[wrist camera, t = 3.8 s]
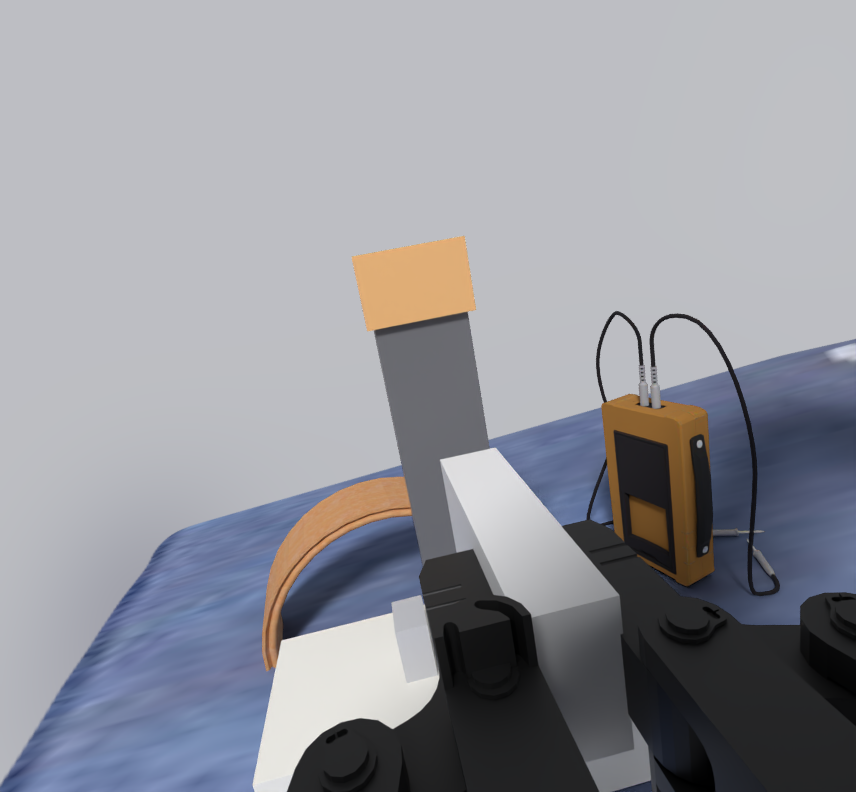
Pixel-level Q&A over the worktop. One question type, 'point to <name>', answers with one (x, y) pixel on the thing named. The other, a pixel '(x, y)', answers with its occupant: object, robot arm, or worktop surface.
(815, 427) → the worktop surface
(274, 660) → the arch
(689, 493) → the multimeter
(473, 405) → the lever
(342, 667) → the white rectangular slab
